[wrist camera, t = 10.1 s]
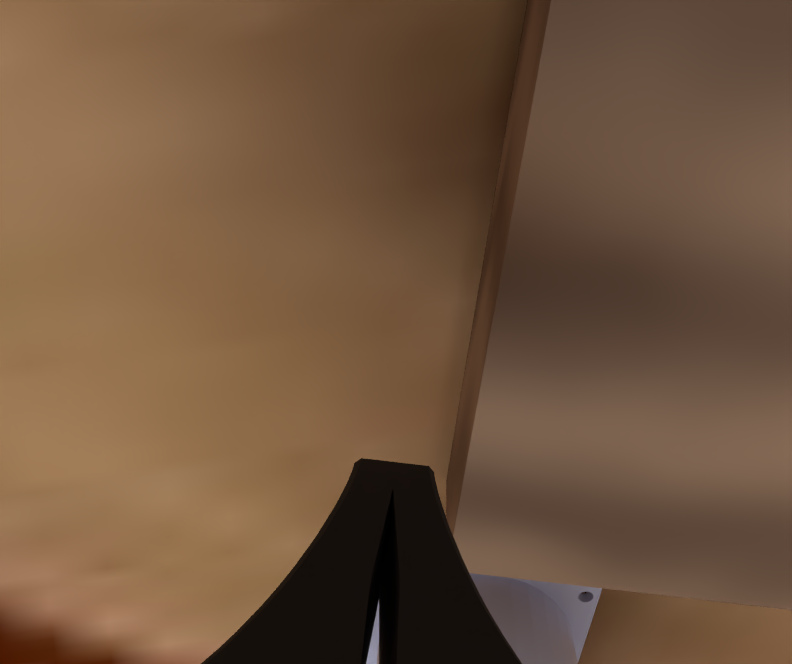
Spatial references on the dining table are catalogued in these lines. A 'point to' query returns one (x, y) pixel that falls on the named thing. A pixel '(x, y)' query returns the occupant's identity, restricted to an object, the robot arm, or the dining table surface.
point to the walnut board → (637, 308)
